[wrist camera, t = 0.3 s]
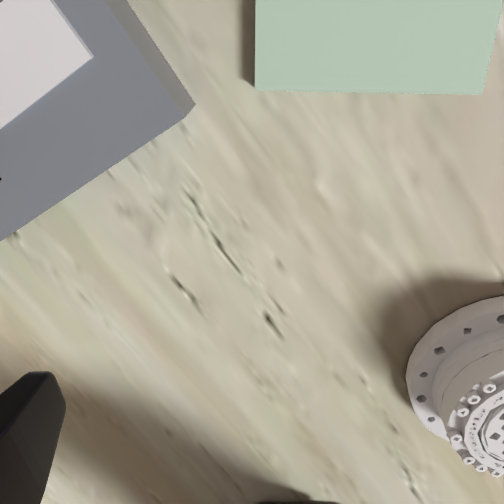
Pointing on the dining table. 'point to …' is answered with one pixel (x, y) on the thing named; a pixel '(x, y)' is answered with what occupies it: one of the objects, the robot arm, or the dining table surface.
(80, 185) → the socket block
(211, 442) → the dining table surface
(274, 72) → the mat
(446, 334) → the mechanical component
